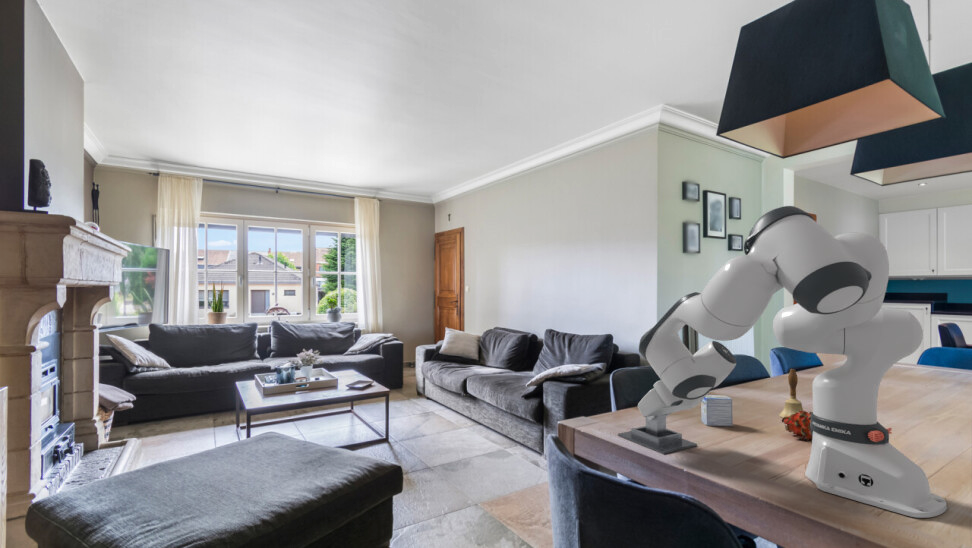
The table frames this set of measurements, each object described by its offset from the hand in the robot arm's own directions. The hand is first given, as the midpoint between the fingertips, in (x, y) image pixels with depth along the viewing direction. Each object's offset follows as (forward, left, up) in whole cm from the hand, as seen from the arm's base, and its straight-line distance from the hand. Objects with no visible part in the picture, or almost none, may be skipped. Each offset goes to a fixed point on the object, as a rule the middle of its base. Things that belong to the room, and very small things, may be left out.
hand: (655, 416), depth 123 cm
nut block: (0, 0, -5) cm, 5 cm away
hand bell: (-5, -60, -7) cm, 60 cm away
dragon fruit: (-18, -40, -7) cm, 44 cm away
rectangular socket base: (0, 0, -7) cm, 7 cm away
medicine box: (+2, -30, -7) cm, 30 cm away
